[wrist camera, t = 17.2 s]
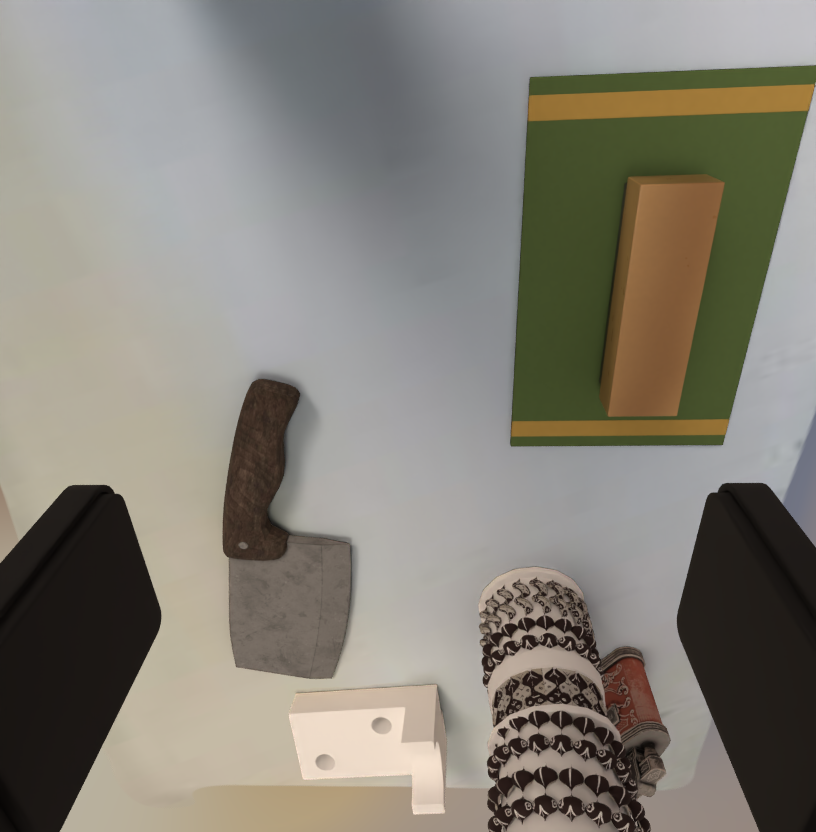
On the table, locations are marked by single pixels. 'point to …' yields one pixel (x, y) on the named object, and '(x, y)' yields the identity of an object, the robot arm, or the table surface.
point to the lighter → (635, 716)
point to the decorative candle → (550, 712)
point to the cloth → (599, 224)
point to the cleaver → (278, 555)
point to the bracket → (375, 738)
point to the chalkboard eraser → (656, 291)
